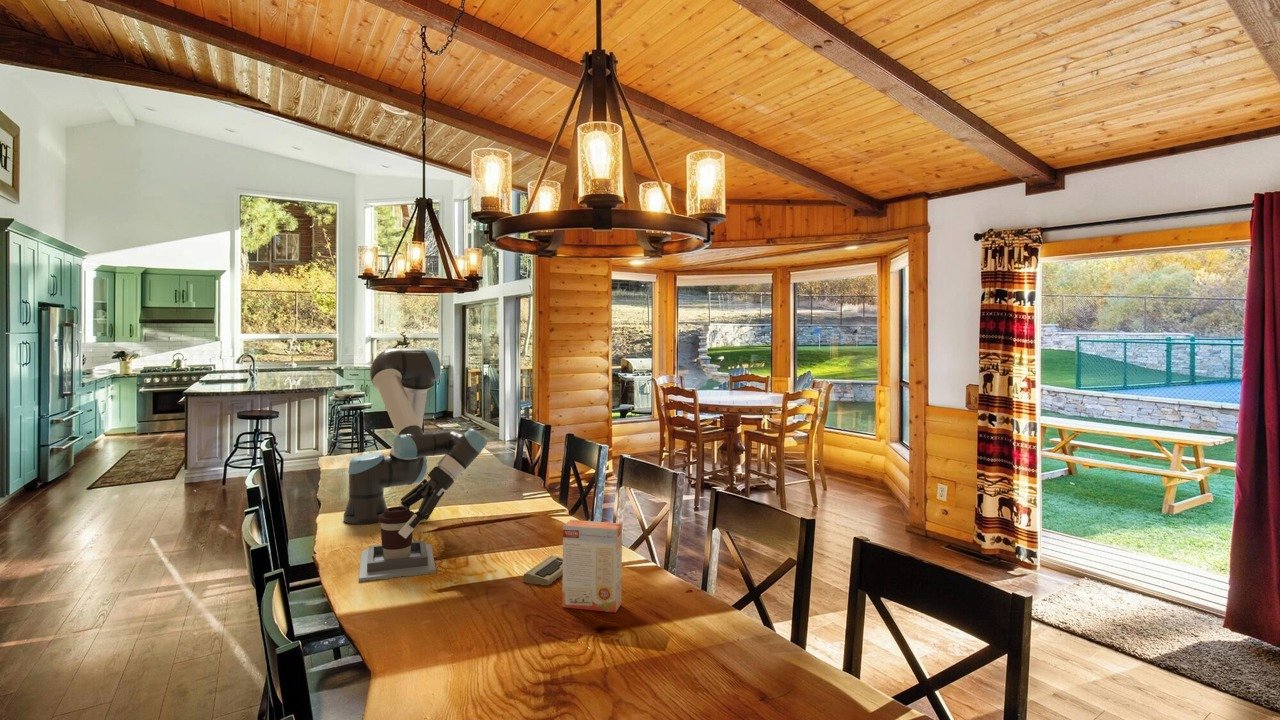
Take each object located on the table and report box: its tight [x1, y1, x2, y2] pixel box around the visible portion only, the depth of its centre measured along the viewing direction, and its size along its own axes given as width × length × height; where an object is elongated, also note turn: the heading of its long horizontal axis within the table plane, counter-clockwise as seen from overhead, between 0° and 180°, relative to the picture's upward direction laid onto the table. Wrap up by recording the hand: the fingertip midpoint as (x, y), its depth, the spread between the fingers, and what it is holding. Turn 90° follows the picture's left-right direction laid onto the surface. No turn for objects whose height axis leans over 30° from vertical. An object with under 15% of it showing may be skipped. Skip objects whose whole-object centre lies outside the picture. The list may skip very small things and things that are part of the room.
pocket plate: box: [358, 539, 437, 582], centre depth 186 cm, size 24×20×4 cm
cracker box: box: [561, 519, 623, 614], centre depth 158 cm, size 14×6×21 cm, turn 77°
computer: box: [522, 555, 563, 586], centre depth 179 cm, size 16×8×3 cm, turn 161°
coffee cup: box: [378, 505, 415, 560], centre depth 186 cm, size 10×10×15 cm
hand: (394, 529), depth 185 cm, fingers open, 13 cm apart
